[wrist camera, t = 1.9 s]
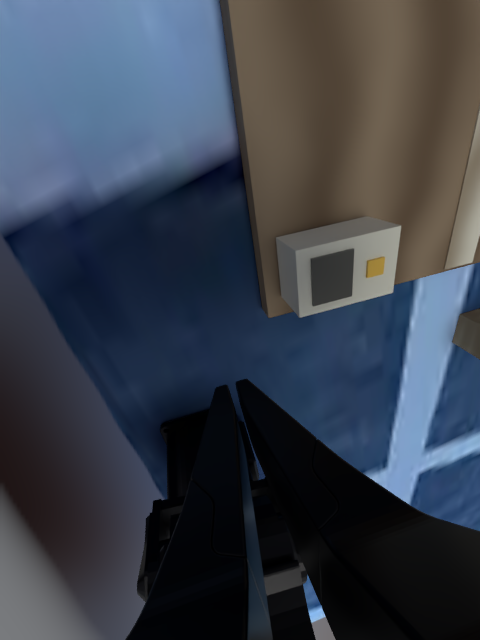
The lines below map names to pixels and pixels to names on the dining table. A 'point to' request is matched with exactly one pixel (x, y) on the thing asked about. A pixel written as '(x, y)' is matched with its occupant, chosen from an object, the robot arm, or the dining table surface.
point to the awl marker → (468, 332)
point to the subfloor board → (359, 124)
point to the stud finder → (337, 264)
